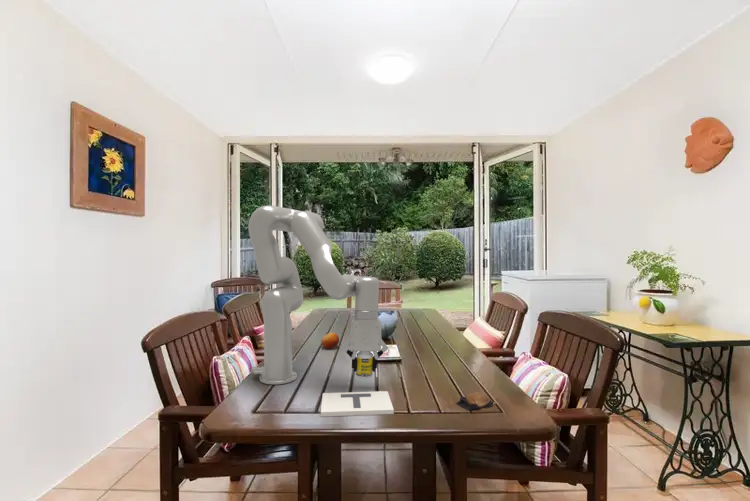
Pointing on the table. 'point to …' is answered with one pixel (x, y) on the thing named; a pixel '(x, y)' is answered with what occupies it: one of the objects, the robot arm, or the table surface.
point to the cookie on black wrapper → (475, 402)
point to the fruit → (330, 341)
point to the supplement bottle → (364, 364)
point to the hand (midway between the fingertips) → (364, 369)
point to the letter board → (356, 403)
